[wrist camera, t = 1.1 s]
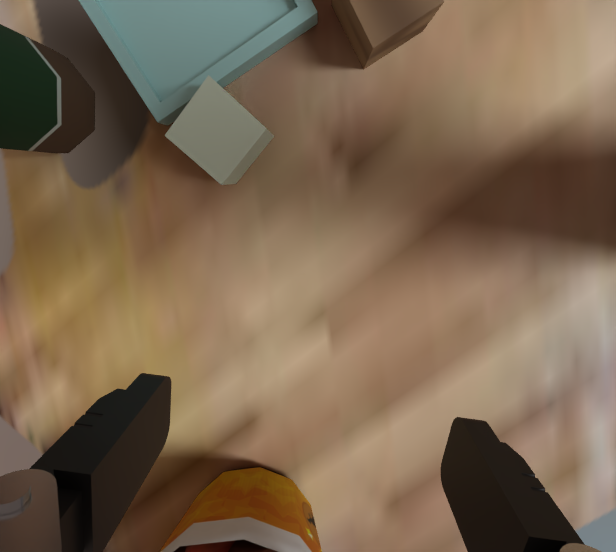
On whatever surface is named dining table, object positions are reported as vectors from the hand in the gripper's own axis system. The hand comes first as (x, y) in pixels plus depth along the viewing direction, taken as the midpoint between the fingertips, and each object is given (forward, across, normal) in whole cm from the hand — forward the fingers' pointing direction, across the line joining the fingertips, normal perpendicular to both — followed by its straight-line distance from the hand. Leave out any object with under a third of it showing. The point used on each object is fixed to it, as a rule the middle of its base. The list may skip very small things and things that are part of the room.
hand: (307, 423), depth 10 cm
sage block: (+23, +8, -9) cm, 26 cm away
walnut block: (+23, -2, -18) cm, 30 cm away
